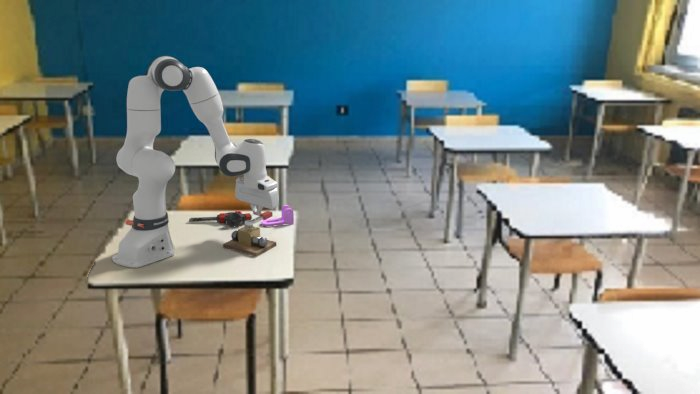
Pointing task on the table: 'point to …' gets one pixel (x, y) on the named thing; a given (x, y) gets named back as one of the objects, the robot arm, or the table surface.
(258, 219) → the valve lever
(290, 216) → the bracket
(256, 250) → the walnut board
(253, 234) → the ball valve
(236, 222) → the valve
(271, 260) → the table surface
